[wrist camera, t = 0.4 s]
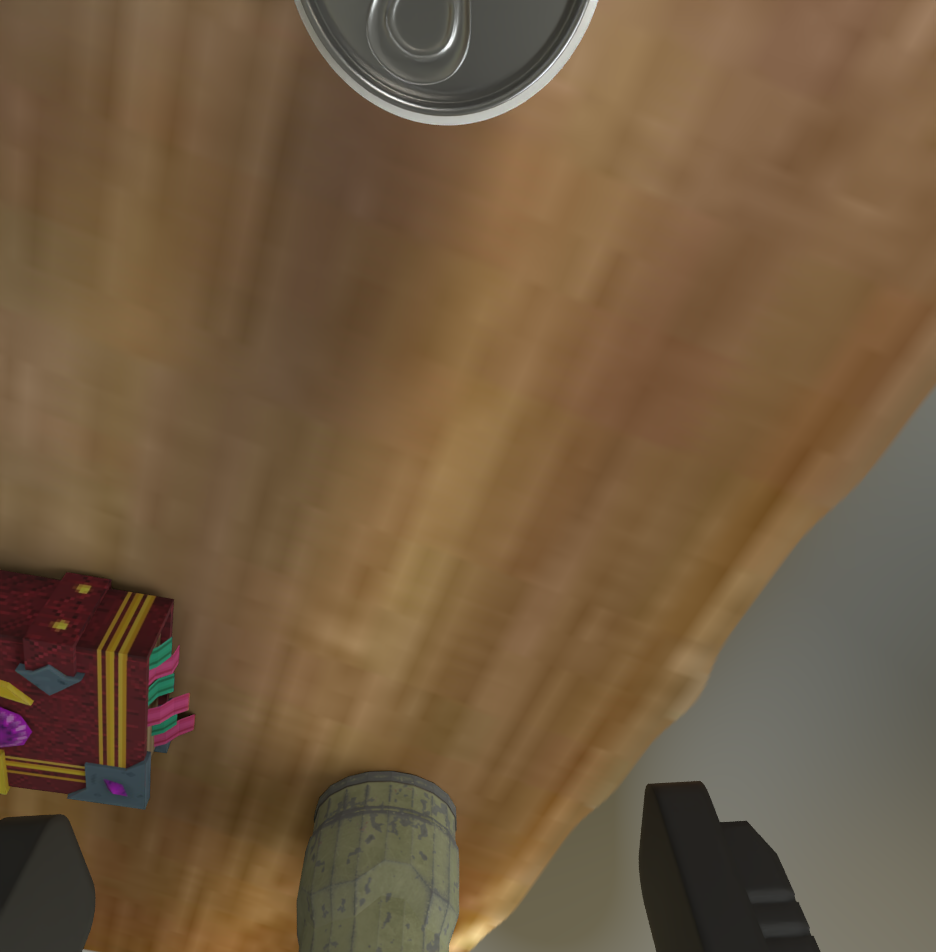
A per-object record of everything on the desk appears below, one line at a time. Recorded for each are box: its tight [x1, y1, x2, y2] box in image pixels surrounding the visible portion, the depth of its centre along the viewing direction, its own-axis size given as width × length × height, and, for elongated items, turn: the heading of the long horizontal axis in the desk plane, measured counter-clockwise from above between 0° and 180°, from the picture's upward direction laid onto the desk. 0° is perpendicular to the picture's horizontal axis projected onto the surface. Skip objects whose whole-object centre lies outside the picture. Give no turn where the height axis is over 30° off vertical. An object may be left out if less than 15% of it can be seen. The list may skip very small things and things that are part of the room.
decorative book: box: [0, 570, 195, 809], centre depth 37 cm, size 11×16×5 cm
